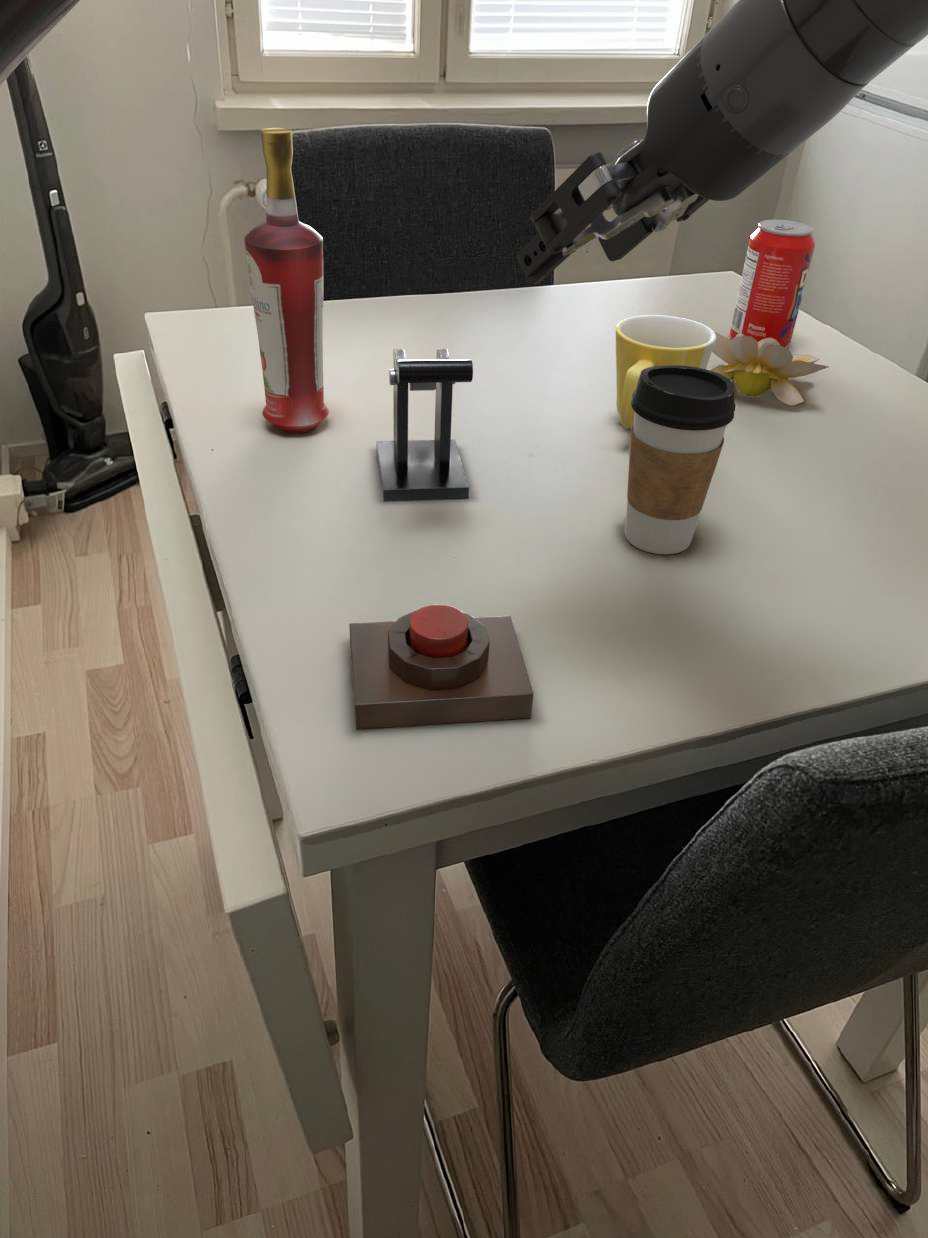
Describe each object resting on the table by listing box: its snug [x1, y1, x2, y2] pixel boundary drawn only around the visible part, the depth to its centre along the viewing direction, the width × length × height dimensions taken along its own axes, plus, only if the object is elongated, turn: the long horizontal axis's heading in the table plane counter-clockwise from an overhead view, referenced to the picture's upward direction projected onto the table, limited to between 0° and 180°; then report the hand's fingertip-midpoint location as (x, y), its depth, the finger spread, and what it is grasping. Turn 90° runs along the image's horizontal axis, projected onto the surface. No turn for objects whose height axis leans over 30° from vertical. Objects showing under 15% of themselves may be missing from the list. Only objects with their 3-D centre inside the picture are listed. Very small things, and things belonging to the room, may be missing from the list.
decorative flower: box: [709, 331, 830, 406], centre depth 110 cm, size 15×11×10 cm
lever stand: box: [376, 348, 470, 502], centre depth 90 cm, size 10×8×12 cm
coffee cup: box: [624, 365, 736, 555], centre depth 81 cm, size 8×8×15 cm
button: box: [410, 604, 468, 658], centre depth 66 cm, size 4×4×2 cm
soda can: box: [729, 219, 816, 348], centre depth 121 cm, size 8×8×15 cm
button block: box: [348, 610, 535, 730], centre depth 67 cm, size 12×9×4 cm
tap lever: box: [397, 358, 474, 392], centre depth 83 cm, size 12×6×2 cm, turn 8°
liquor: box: [243, 127, 330, 434], centre depth 93 cm, size 7×7×28 cm
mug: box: [615, 314, 716, 429], centre depth 101 cm, size 14×10×10 cm
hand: (567, 259), depth 63 cm, fingers open, 7 cm apart
